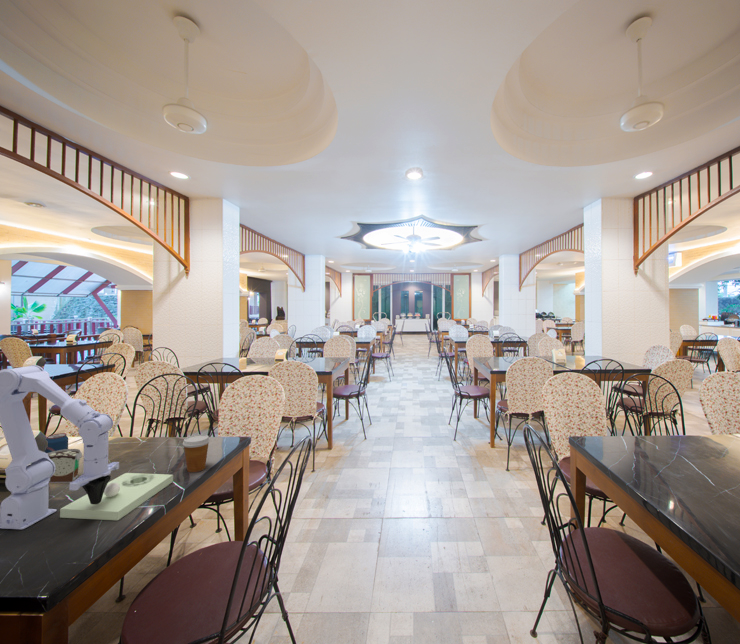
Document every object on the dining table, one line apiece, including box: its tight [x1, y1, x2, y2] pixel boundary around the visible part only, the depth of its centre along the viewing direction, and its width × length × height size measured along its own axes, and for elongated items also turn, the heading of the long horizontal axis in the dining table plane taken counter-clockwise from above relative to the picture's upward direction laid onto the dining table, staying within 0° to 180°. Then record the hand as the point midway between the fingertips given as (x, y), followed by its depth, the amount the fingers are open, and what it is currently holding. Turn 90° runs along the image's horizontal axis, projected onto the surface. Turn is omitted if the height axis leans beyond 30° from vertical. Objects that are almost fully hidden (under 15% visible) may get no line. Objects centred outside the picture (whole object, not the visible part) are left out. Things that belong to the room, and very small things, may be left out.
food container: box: [47, 448, 83, 484], centre depth 123 cm, size 12×6×10 cm, turn 92°
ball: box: [104, 483, 120, 497], centre depth 106 cm, size 4×4×4 cm
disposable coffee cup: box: [182, 434, 211, 473], centre depth 132 cm, size 10×10×12 cm
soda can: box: [44, 432, 69, 453], centre depth 134 cm, size 7×7×12 cm
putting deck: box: [59, 472, 174, 521], centre depth 110 cm, size 24×18×2 cm
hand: (95, 503), depth 100 cm, fingers closed
